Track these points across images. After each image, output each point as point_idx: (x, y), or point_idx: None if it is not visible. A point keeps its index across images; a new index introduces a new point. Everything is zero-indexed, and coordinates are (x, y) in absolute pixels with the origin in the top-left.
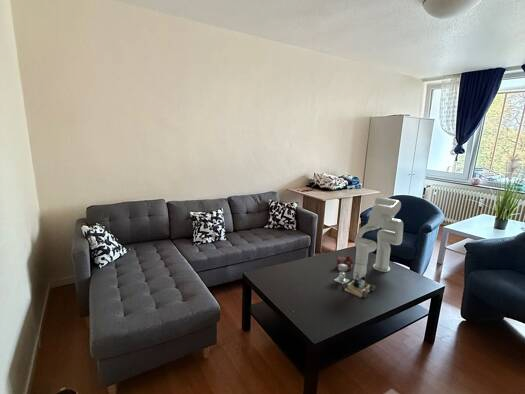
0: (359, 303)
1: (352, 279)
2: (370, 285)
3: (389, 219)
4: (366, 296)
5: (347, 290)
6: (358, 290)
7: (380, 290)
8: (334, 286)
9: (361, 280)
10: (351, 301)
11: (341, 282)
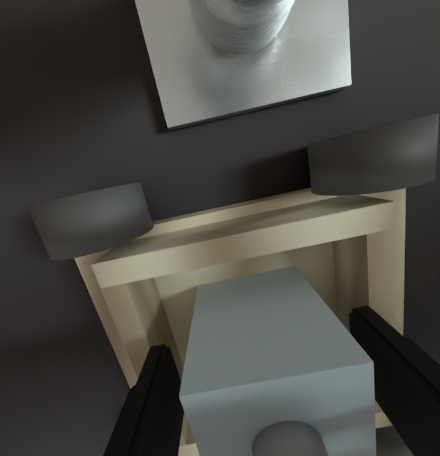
0: (67, 439)
1: (340, 168)
2: (385, 423)
3: None
4: None
5: (87, 279)
6: None
7: None
8: (4, 85)
9: (333, 454)
10: (16, 398)
11: (169, 63)
